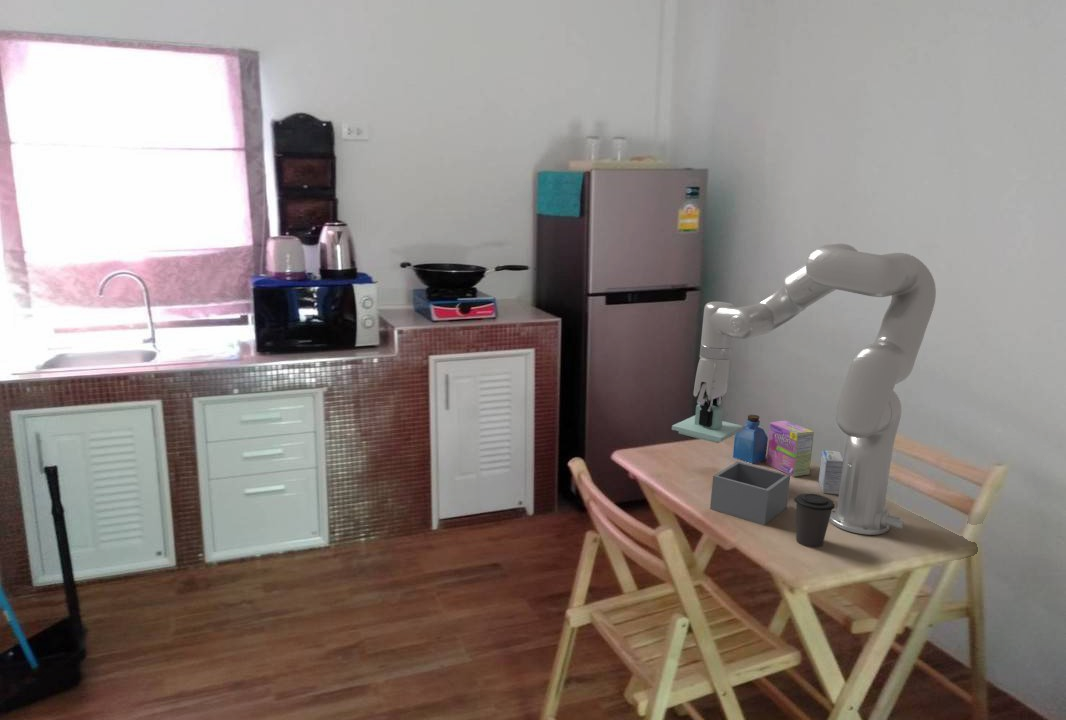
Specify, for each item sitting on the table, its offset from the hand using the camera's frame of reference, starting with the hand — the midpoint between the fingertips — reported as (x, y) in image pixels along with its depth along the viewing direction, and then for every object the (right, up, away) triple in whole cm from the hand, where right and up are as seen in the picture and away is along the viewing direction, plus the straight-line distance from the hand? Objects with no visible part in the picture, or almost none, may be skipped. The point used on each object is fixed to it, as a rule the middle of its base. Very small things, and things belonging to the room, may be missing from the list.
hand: (708, 423), depth 204 cm
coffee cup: (+14, -23, -33) cm, 42 cm away
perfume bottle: (+15, -11, +18) cm, 26 cm away
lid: (0, -3, +1) cm, 3 cm away
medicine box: (+29, -16, -2) cm, 34 cm away
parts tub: (+6, -18, -16) cm, 25 cm away
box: (+23, -13, +10) cm, 28 cm away
